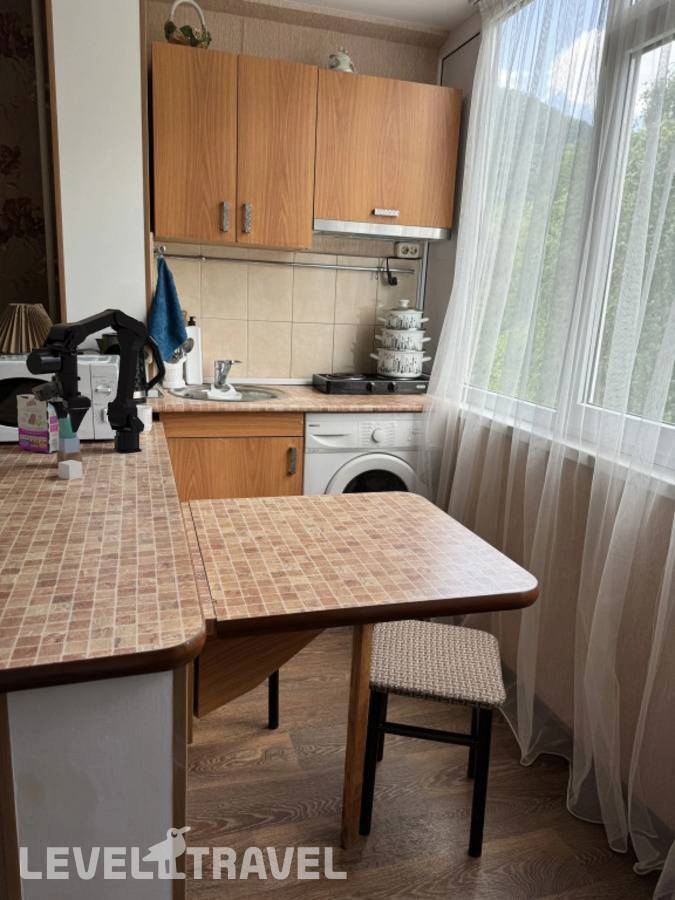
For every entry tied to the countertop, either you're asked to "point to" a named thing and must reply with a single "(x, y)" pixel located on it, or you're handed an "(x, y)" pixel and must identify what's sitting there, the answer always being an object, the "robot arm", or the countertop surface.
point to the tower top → (69, 445)
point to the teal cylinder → (66, 429)
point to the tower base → (69, 456)
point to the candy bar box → (37, 425)
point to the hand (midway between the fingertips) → (68, 429)
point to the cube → (70, 469)
